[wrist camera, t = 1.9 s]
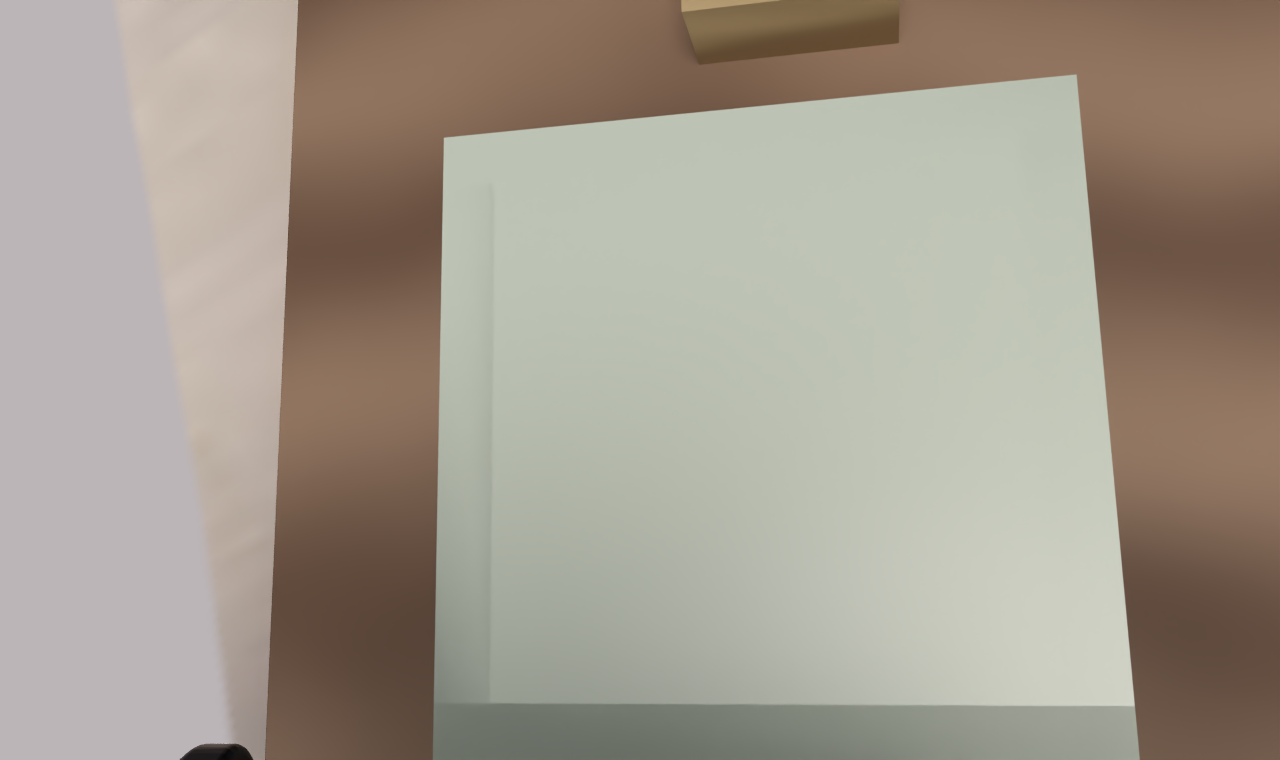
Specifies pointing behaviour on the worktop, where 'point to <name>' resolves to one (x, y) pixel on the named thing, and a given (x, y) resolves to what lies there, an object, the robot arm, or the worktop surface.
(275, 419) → the worktop surface
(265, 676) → the worktop surface
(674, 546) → the pale green lidded box
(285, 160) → the worktop surface
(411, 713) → the dock
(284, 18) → the worktop surface
